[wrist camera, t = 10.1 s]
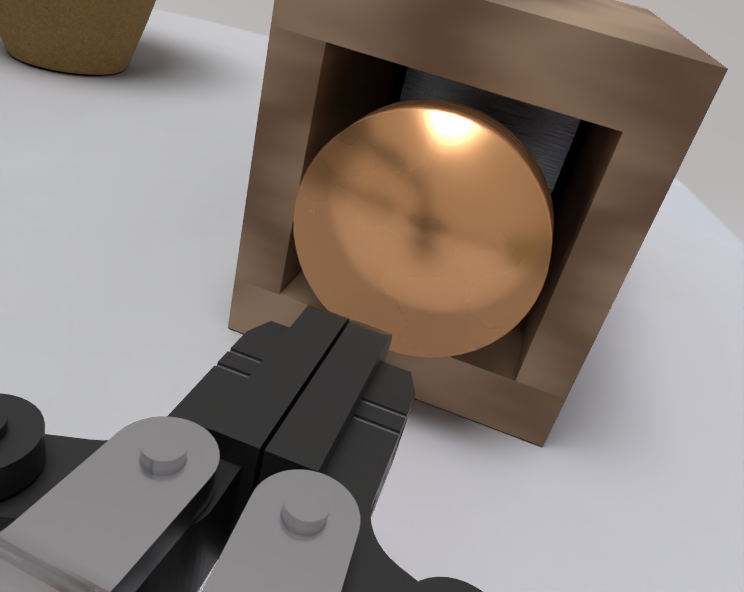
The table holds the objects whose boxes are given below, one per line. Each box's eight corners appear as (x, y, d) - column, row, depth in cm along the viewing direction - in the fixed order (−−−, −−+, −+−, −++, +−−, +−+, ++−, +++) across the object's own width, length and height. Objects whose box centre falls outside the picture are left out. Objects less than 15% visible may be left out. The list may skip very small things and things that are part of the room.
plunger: (275, 308, 20) (319, 74, 16) (423, 146, 37) (459, 17, 34) (498, 391, 19) (596, 160, 15) (542, 184, 36) (592, 56, 33)
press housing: (227, 327, 23) (282, -57, 17) (400, 155, 43) (452, -45, 37) (542, 446, 21) (728, 68, 15) (565, 208, 42) (647, 9, 36)
